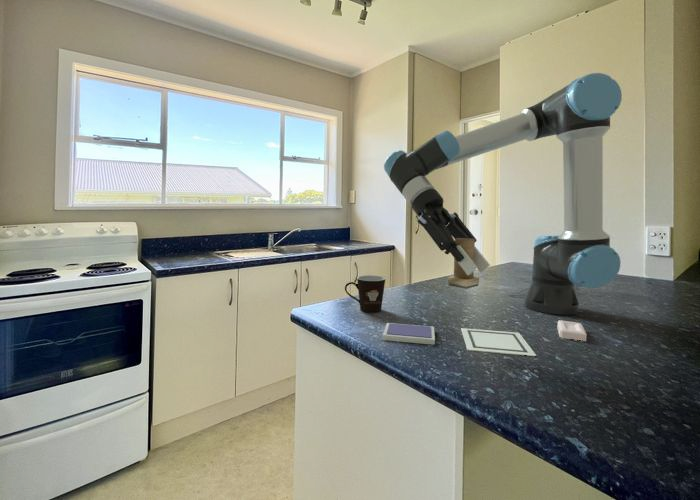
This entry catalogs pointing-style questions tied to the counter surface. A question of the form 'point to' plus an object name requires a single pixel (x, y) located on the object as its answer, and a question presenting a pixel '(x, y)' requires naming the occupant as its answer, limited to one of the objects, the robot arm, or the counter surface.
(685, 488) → the counter surface
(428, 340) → the ink pad
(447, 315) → the counter surface
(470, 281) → the stamp
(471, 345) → the sheet
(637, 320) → the counter surface
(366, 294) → the coffee mug
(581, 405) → the counter surface
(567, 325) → the soap bar
